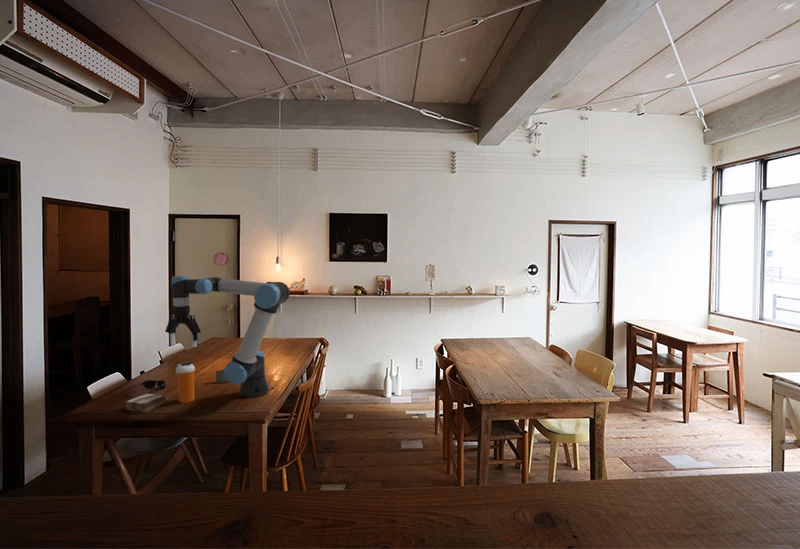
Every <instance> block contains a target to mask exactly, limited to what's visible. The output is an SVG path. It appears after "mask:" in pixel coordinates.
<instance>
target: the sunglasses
mask: <svg viewBox="0 0 800 549" xmlns="http://www.w3.org/2000/svg"><path fill="white" fill-rule="evenodd" d="M141 386H142V387H143V388H145V389H148V388H149V389H151V390H150V391H149V392H148V393H147V394H152V392H153V391H155V390H157V389H163V388H164V389H166V381H165V380H161V379H160V380H155V379H154V380H153V379H149V380H144V381H142V382H141V383H138V385H136V386H134V387H133V388H132V389H131V393H130V394H131V395H130V398H133V391H134V390H135V389H137V388H138V387H141ZM151 387H153V388H151ZM160 387H162V388H160Z"/></svg>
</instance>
